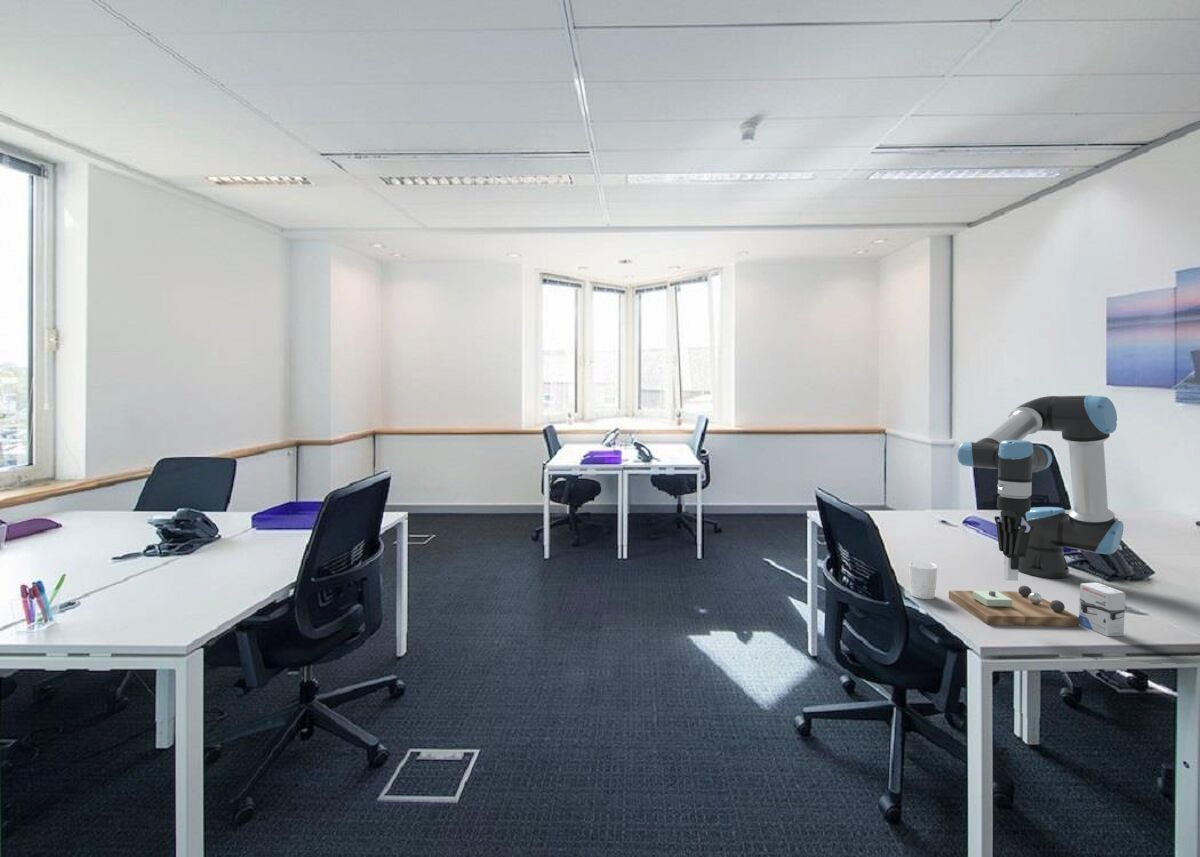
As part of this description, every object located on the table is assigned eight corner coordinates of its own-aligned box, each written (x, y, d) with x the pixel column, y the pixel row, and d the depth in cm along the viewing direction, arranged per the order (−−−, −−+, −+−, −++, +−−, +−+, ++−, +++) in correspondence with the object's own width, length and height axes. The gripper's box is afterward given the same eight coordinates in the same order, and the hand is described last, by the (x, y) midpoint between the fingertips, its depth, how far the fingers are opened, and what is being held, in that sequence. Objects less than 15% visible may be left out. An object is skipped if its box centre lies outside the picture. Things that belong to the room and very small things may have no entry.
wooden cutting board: (1029, 599, 173) (1029, 591, 173) (1079, 626, 153) (1079, 617, 153) (948, 598, 175) (948, 590, 175) (987, 624, 155) (987, 615, 155)
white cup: (926, 602, 173) (927, 570, 172) (902, 594, 180) (903, 563, 179) (942, 597, 176) (942, 566, 176) (918, 589, 183) (918, 560, 183)
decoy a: (1026, 594, 171) (1027, 584, 171) (1034, 598, 168) (1034, 587, 167) (1015, 594, 171) (1016, 584, 171) (1022, 598, 168) (1023, 587, 168)
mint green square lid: (997, 597, 168) (997, 587, 168) (1012, 606, 161) (1012, 596, 161) (972, 597, 168) (972, 587, 168) (986, 606, 161) (986, 596, 161)
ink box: (1077, 623, 155) (1078, 582, 154) (1093, 622, 155) (1095, 581, 155) (1107, 637, 147) (1109, 593, 146) (1124, 636, 147) (1126, 592, 146)
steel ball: (1036, 601, 165) (1037, 591, 165) (1044, 605, 162) (1044, 594, 162) (1025, 601, 165) (1025, 590, 165) (1032, 605, 162) (1033, 594, 162)
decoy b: (1059, 609, 159) (1059, 598, 159) (1067, 613, 156) (1067, 602, 155) (1047, 609, 159) (1047, 598, 159) (1055, 613, 156) (1055, 602, 156)
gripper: (985, 491, 161) (982, 572, 162) (1015, 500, 148) (1012, 587, 149) (1013, 492, 160) (1010, 572, 161) (1045, 500, 147) (1041, 587, 149)
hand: (1011, 579), depth 155 cm, fingers closed
